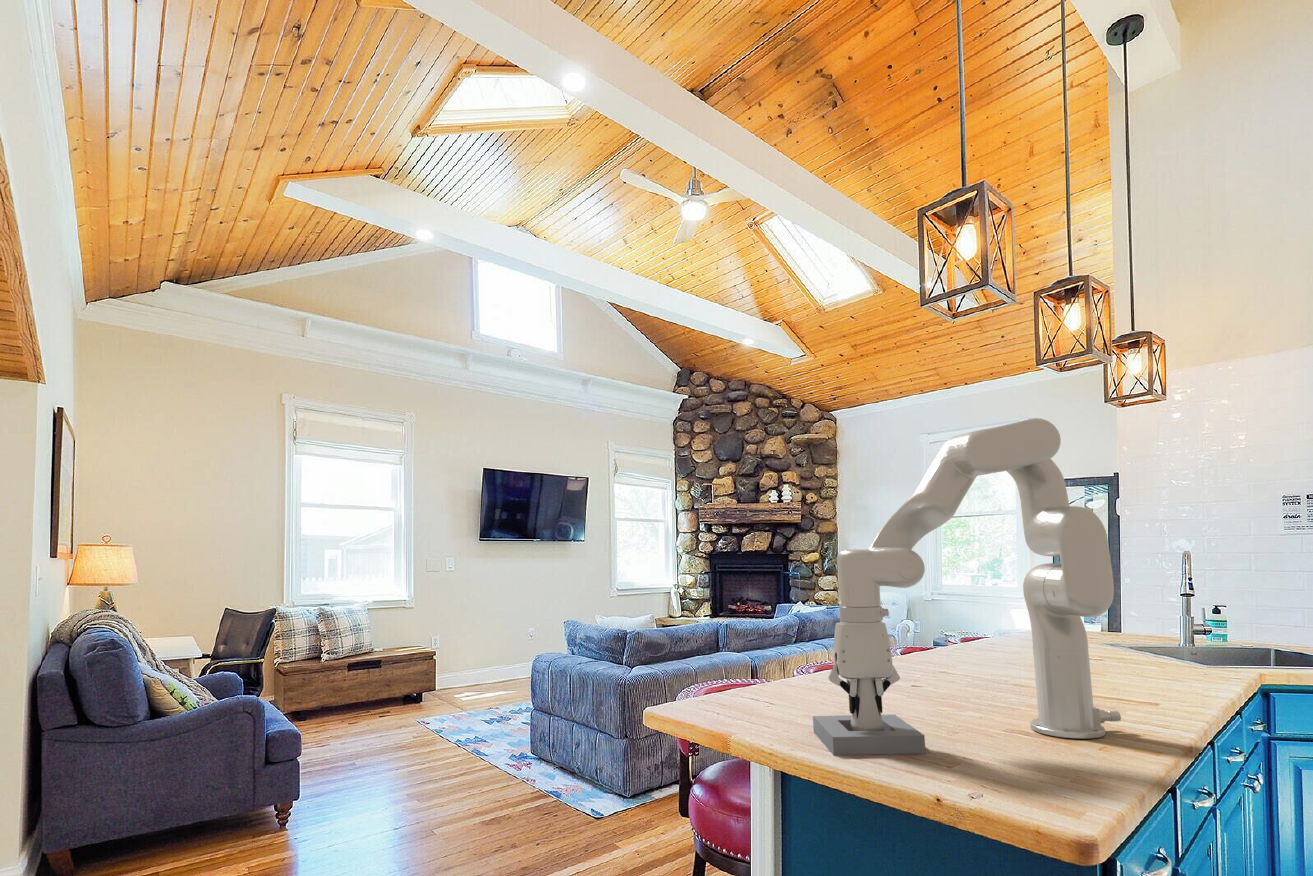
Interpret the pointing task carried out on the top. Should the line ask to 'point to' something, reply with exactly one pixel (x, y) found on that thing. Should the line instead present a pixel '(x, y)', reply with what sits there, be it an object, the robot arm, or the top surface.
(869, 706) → the white bulbous peg
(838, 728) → the socket board
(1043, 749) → the top surface
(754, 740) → the top surface
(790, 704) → the top surface
